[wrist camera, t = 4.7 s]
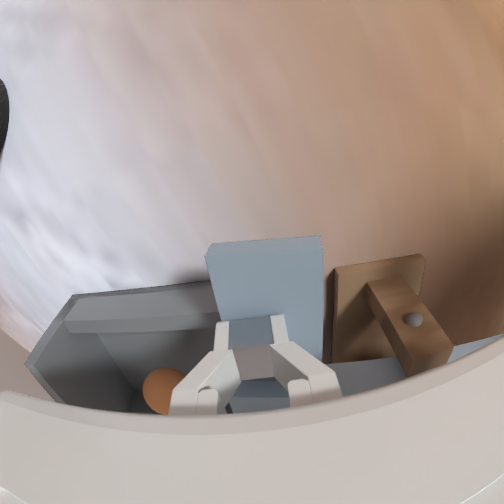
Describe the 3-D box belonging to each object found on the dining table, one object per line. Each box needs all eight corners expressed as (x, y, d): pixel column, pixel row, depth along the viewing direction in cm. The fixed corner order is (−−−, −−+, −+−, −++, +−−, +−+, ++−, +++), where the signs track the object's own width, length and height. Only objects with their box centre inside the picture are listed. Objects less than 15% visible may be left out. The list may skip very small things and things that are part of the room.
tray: (236, 277, 16) (231, 374, 10) (260, 388, 21) (264, 463, 15) (72, 294, 17) (24, 363, 10) (130, 390, 22) (111, 453, 15)
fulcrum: (419, 253, 16) (484, 323, 9) (395, 360, 20) (425, 427, 14) (334, 267, 16) (379, 359, 9) (329, 376, 20) (348, 452, 14)
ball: (187, 390, 14) (135, 402, 13) (203, 417, 15) (156, 428, 14) (179, 352, 16) (134, 363, 16) (194, 381, 18) (152, 392, 17)
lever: (565, 223, 7) (594, 247, 4) (502, 374, 12) (514, 401, 10) (187, 245, 11) (158, 286, 8) (240, 412, 16) (233, 447, 14)
